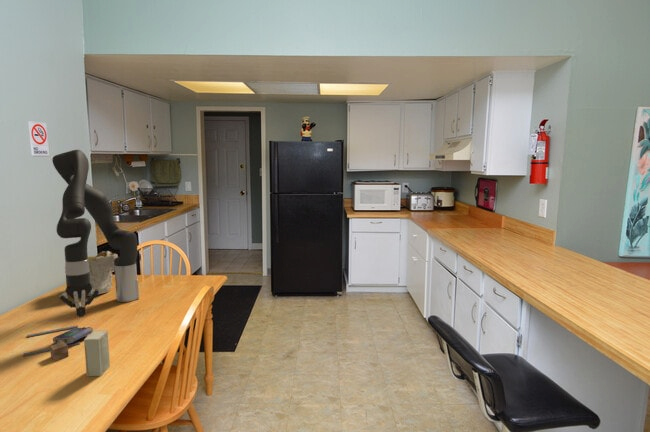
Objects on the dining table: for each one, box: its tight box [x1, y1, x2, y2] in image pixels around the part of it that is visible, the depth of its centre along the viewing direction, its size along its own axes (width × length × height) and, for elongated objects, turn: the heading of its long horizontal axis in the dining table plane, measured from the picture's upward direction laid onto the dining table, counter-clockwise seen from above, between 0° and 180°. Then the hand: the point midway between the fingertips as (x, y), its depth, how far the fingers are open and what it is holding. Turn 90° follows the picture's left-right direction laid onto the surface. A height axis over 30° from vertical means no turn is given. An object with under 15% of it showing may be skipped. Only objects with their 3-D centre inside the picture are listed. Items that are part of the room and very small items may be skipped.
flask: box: [52, 326, 94, 344], centre depth 140 cm, size 9×3×11 cm
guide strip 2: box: [23, 341, 81, 357], centre depth 134 cm, size 16×2×1 cm, turn 125°
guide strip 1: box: [26, 325, 79, 338], centre depth 148 cm, size 16×2×1 cm, turn 125°
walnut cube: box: [49, 342, 70, 362], centre depth 129 cm, size 4×4×4 cm
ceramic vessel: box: [87, 250, 119, 297], centre depth 193 cm, size 23×24×25 cm
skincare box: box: [83, 330, 111, 377], centre depth 119 cm, size 6×4×12 cm
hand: (81, 316), depth 145 cm, fingers closed
